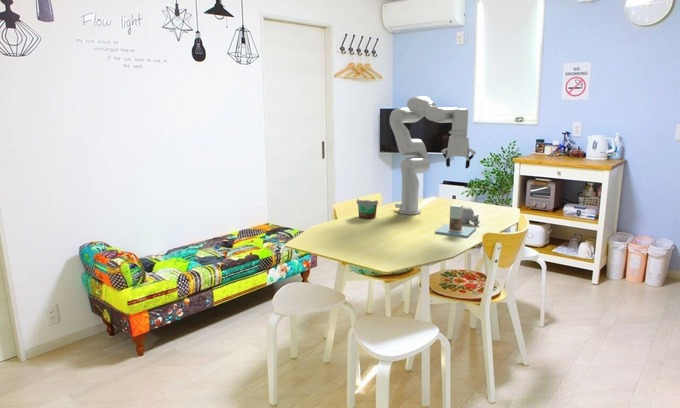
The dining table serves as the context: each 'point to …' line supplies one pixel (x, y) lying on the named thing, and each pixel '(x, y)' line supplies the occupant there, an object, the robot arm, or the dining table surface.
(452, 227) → the walnut block
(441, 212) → the dining table surface
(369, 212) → the food container
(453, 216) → the sage block
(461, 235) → the build board
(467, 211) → the chubby cartoon animal
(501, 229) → the dining table surface
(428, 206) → the dining table surface
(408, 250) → the dining table surface
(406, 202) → the robot arm
